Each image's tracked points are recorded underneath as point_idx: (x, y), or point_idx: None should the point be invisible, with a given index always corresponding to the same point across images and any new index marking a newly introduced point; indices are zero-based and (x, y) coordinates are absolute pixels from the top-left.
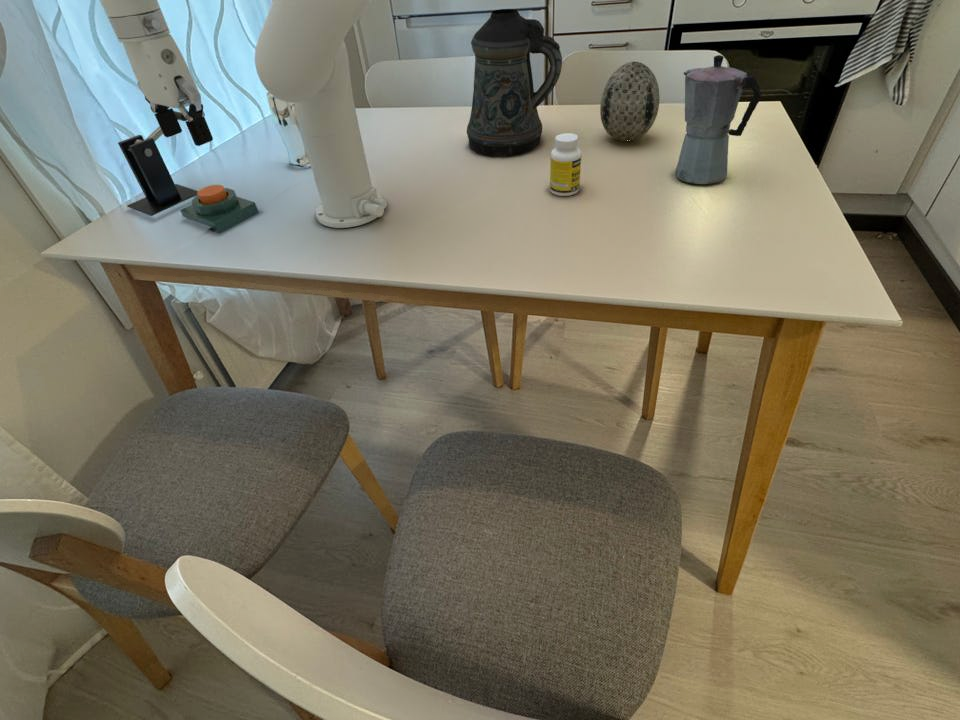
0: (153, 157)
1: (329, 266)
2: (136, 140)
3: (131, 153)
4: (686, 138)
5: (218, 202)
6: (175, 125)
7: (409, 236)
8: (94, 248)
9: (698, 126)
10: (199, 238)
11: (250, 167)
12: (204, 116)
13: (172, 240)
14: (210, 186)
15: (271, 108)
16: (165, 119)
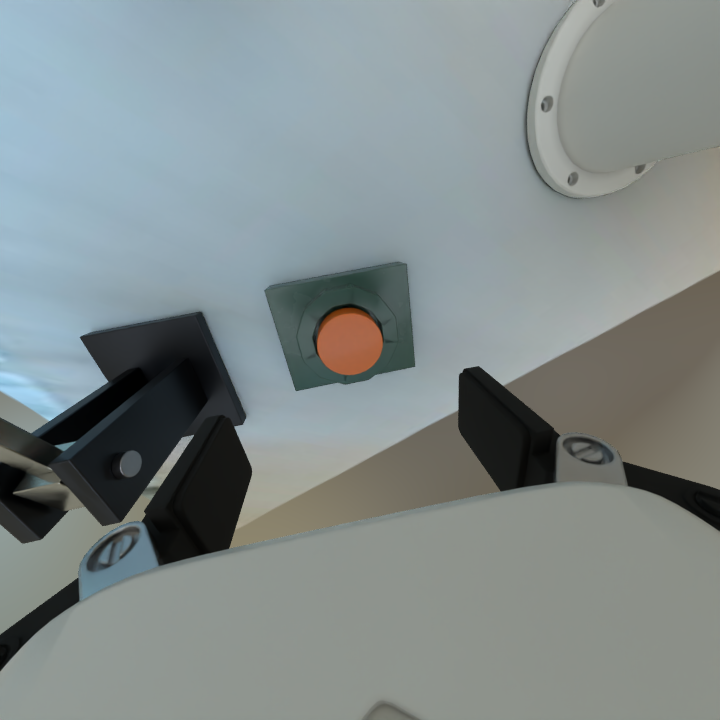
0: (131, 440)
1: (668, 283)
2: (24, 495)
3: None
4: None
5: (386, 343)
6: (224, 454)
7: None
8: (277, 495)
9: None
10: (391, 384)
11: (38, 84)
12: (580, 434)
13: (356, 416)
14: (326, 336)
15: None
16: (222, 516)
